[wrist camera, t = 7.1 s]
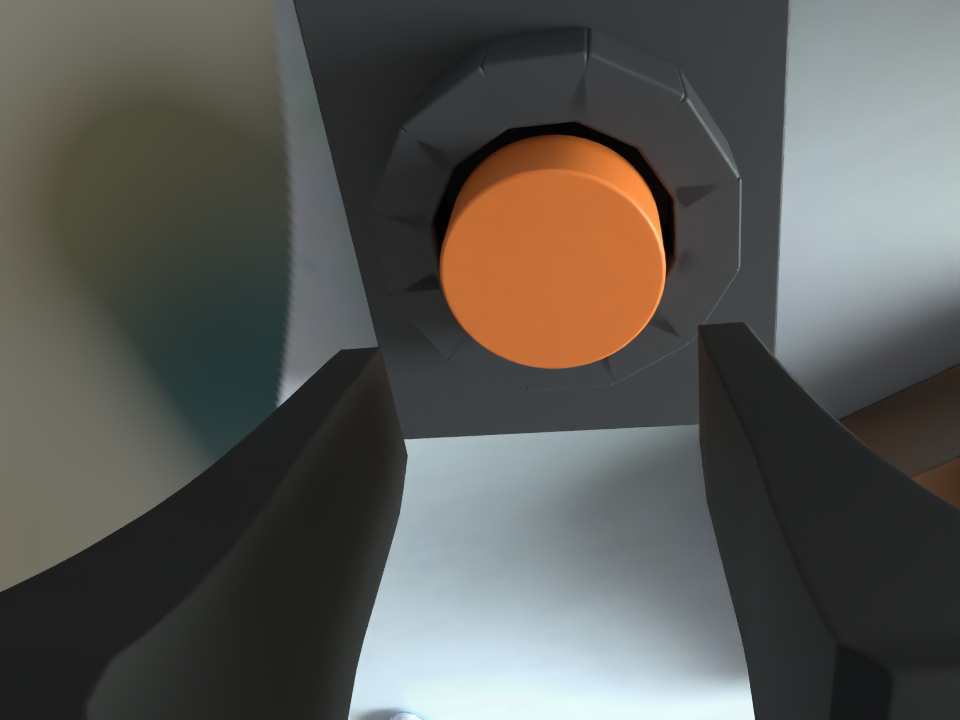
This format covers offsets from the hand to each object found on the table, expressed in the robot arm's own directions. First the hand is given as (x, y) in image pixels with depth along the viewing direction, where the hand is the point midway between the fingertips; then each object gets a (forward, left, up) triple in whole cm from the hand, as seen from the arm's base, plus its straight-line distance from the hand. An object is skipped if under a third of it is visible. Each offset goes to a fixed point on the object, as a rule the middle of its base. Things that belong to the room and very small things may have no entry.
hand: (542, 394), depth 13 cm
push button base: (0, 0, -9) cm, 9 cm away
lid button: (0, 0, -5) cm, 5 cm away
